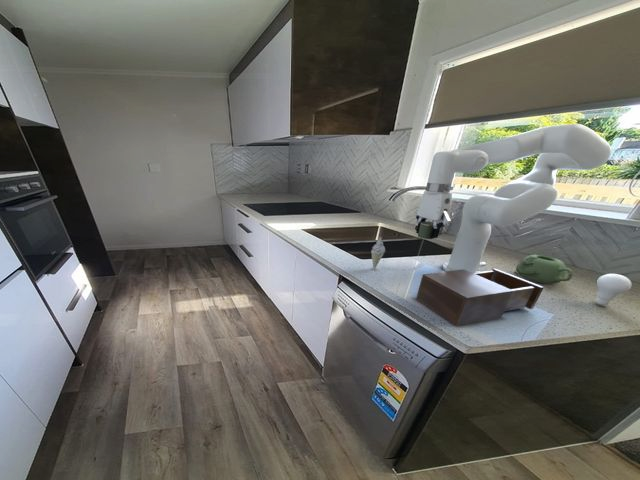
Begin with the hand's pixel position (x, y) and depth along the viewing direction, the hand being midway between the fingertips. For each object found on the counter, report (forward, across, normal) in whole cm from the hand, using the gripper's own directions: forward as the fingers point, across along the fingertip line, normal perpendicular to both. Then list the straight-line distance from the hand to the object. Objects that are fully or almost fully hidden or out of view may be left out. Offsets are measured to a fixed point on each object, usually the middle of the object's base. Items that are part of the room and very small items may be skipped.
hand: (426, 234), depth 95 cm
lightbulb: (+18, -32, -39) cm, 54 cm away
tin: (+1, 0, 0) cm, 1 cm away
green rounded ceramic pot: (+18, -15, -42) cm, 48 cm away
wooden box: (+17, -24, +8) cm, 30 cm away
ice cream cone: (+16, +6, +16) cm, 23 cm away
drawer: (+16, -24, -8) cm, 30 cm away
